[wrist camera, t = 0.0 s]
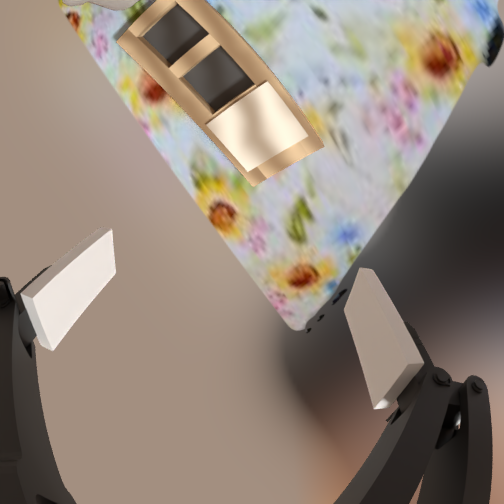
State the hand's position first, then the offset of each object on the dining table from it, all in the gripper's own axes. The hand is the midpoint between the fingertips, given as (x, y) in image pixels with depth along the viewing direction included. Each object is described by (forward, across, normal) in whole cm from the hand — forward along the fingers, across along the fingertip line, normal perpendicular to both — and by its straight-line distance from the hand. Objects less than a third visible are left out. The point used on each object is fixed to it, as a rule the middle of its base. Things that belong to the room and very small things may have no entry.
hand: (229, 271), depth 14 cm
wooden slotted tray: (+25, -7, +14) cm, 29 cm away
